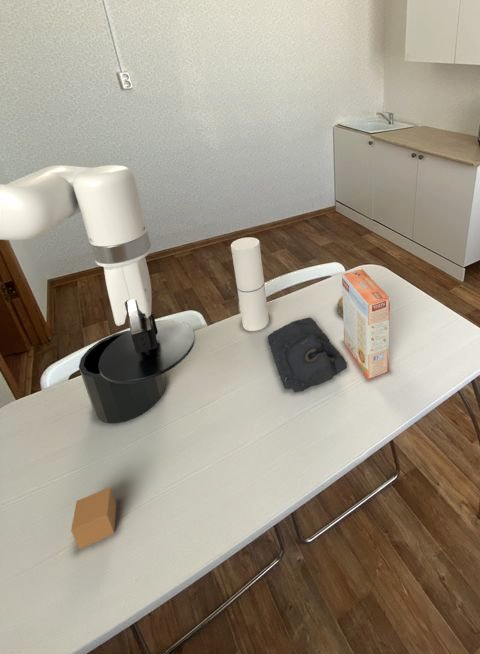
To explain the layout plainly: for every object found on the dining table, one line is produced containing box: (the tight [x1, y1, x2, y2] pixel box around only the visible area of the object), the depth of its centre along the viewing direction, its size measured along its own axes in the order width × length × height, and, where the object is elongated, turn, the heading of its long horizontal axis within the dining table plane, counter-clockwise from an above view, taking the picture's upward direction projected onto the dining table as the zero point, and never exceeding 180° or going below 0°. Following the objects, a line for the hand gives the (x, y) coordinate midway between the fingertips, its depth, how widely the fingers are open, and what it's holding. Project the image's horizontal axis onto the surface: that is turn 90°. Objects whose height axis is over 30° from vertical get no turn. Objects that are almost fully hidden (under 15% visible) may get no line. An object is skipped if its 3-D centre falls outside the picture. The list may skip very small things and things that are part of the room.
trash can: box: [78, 329, 166, 424], centre depth 82 cm, size 14×14×12 cm
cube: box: [70, 486, 118, 550], centre depth 60 cm, size 5×5×5 cm
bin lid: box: [99, 316, 196, 384], centre depth 65 cm, size 15×15×7 cm
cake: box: [336, 295, 343, 318], centre depth 112 cm, size 10×10×5 cm
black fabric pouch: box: [267, 316, 347, 393], centre depth 95 cm, size 15×22×5 cm
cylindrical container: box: [230, 236, 270, 332], centre depth 103 cm, size 7×7×25 cm
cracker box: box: [341, 268, 391, 380], centre depth 91 cm, size 14×6×21 cm, turn 25°
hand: (147, 342), depth 65 cm, fingers closed on bin lid, 2 cm apart
